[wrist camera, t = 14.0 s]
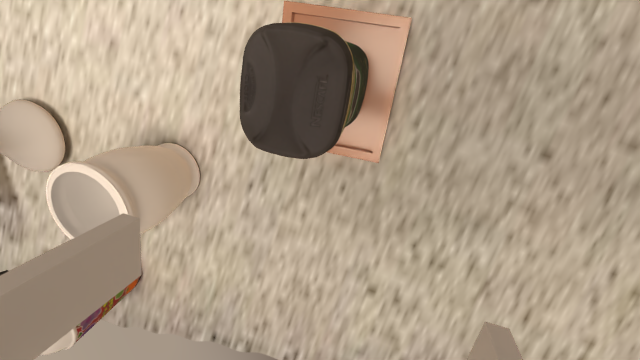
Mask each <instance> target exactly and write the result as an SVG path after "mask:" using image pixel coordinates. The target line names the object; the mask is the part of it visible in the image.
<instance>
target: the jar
mask: <svg viewBox="0 0 640 360" xmlns="http://www.w3.org/2000/svg"><path fill="white" fill-rule="evenodd" d="M199 181H200V172H199V168H198V165H197V163H196V161H195V159H194V158H193V156H192V155H191V154H190V153H189V152H188V151H187V150H186V149H185V148H183V147H181V146H179V145H177V144H173V143H163V144H160V145H158V146H139V147H125V148H118V149H114V150H110V151H106V152H103V153H101V154H98V155H96V156H93V157H91V158H89V159H87V160H85V161H83V162H82V161H73V162H68V163H65V164H63V165H60V166H58V167H57V168H55V169H54V170H53V171H52V172H51V174H50V175H49V177H48V180H47V184H46V198H47V203H48V207H49V209H50V212H51V214H52V216H53V218H54V220H55V222H56V223H57V225H58V226H59V227H60V229H61V230H62V231H63V232H64V233H65V234H66V236H67V237H69V238H70V239H73V238H75V237H77V236H79V235H81V234H83V233H85V232H87V231H89V230H91V229H93V228H95V227H97V226H99V225H101V224H103V223H105V222H107V221H109V220H111V219H113V218H115V217H117V216H119V215H121V214H123V213H124V214H127V215H130V216H134V217H137V218H140V234H142V233H144V232H146V231H148V230H150V229H152V228H153V227H155V226H156V225H158V224H159V223H161V222H162V221H163V220H164V219H165V218H167V217H168V216H169V215H170V214H171V213H172V212H173V211H174V210H175V209H176V208H177V207H178V206H179V205H180V204H181V203H182V202H183V200H184V199H185V197H187V196H190V195H191V194H193V193H194V192H195V191H196V189H197V187H198V185H199Z"/></svg>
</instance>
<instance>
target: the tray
mask: <svg viewBox="0 0 640 360" xmlns="http://www.w3.org/2000/svg"><path fill="white" fill-rule="evenodd" d="M411 20H412V18H408V17H401V16H394V15H386V14H379V13H371V12H364V11H357V10H349V9H342V8H335V7H327V6H320V5H312V4H305V3H298V2H290V1H284V9H283V20H282V23H287V22H298V23H306V24H311V25H316V26H321V27H324V28H327V29H330V30H332V31H334V32H336V33H337V34H339V35H340V36H341V37H342V38H343V39H344V40H345V41H346V42H350V43H353V44H355V45H357V46H359V47H360V48H361V49H362V50H363V51H364V52H365V54H366V56H367V59H368V64H369V70H368V80H367V86H366V91H365V96H364V100H363V103H362V107H361V109H360V112H359V114H358V116H357V118H356V119H355V120H354V121H353V122H352V123H351V124H350V125H348V126H347V127H345V128H344V130H343V132H342V134H341V136H340V138H339V140H338V142H337V143H336V144H335V146H334V147H333V148H331V149H330V150H329V151H327V152H328V153H333V154H338V155H343V156H348V157H353V158H357V159H362V160H367V161H372V162H377V163H379V159H380V155H381V150H382V146H383V142H384V137H385V133H386V129H387V124H388V120H389V115H390V111H391V107H392V102H393V98H394V94H395V89H396V85H397V81H398V76H399V72H400V68H401V63H402V59H403V54H404V50H405V46H406V41H407V37H408V33H409V28H410V24H411Z"/></svg>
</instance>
